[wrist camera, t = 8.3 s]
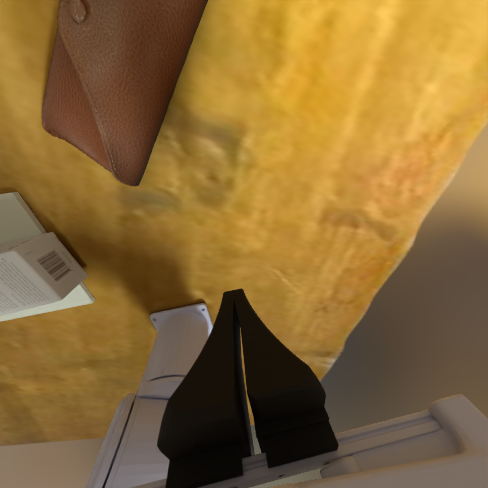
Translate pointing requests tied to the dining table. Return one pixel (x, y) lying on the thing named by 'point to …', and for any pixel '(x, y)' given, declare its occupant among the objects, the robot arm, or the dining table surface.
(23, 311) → the mat
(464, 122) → the dining table surface
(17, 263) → the skincare box
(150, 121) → the sunglasses case
